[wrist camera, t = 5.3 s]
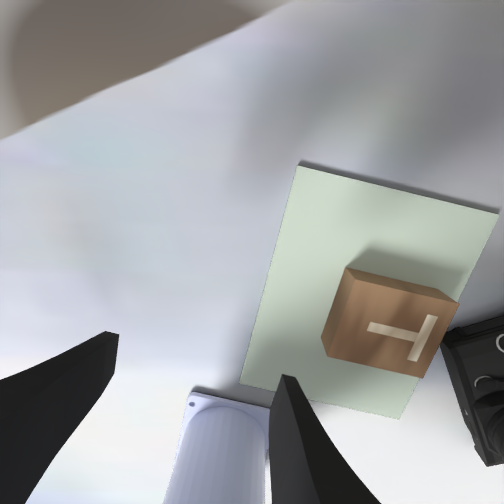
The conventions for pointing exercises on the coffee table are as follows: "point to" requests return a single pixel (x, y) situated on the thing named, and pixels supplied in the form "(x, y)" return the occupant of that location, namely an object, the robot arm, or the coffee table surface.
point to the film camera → (479, 383)
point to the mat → (360, 258)
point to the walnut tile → (386, 322)
